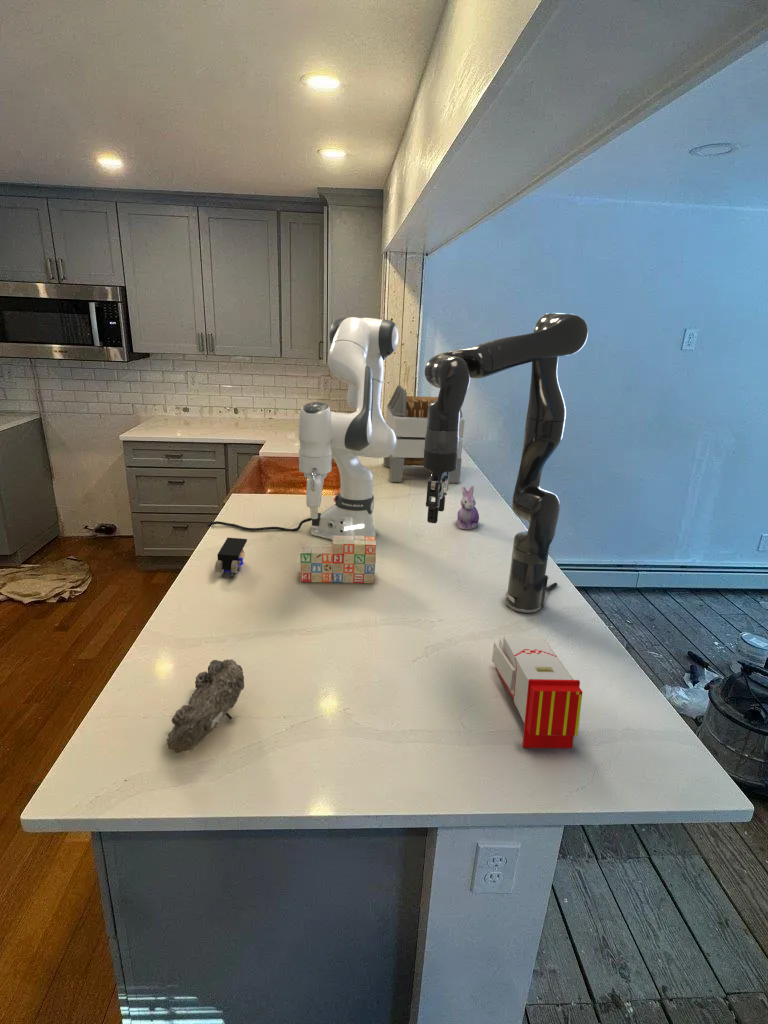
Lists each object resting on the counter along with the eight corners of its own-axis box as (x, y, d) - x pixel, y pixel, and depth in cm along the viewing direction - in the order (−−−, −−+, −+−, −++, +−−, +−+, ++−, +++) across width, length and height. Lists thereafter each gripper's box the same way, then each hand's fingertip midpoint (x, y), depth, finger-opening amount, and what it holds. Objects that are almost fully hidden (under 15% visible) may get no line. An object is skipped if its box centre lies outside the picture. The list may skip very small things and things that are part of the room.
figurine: (464, 532, 204) (468, 492, 199) (449, 522, 212) (452, 484, 207) (486, 528, 208) (490, 489, 203) (469, 519, 216) (473, 481, 211)
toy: (540, 620, 128) (592, 687, 99) (535, 674, 131) (584, 755, 102) (487, 619, 128) (523, 686, 99) (483, 673, 131) (517, 754, 101)
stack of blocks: (299, 582, 162) (299, 543, 158) (301, 573, 168) (301, 534, 163) (374, 583, 163) (376, 544, 159) (373, 573, 169) (375, 535, 165)
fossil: (192, 660, 117) (244, 628, 112) (224, 691, 120) (276, 661, 115) (142, 746, 98) (202, 712, 93) (182, 779, 101) (242, 748, 96)
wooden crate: (382, 463, 289) (386, 382, 275) (445, 464, 293) (451, 384, 279) (390, 482, 257) (394, 392, 243) (460, 483, 261) (468, 394, 247)
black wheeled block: (238, 584, 162) (249, 557, 175) (236, 562, 158) (247, 536, 172) (215, 584, 161) (227, 556, 175) (212, 561, 158) (225, 535, 171)
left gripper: (325, 475, 144) (325, 525, 148) (328, 455, 163) (327, 500, 168) (300, 474, 143) (301, 525, 148) (306, 454, 162) (306, 500, 167)
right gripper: (452, 457, 119) (446, 529, 124) (462, 443, 132) (456, 509, 137) (417, 453, 120) (413, 524, 126) (431, 440, 133) (426, 505, 139)
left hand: (315, 512), depth 158 cm, fingers open, 8 cm apart
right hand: (435, 516), depth 131 cm, fingers open, 8 cm apart
